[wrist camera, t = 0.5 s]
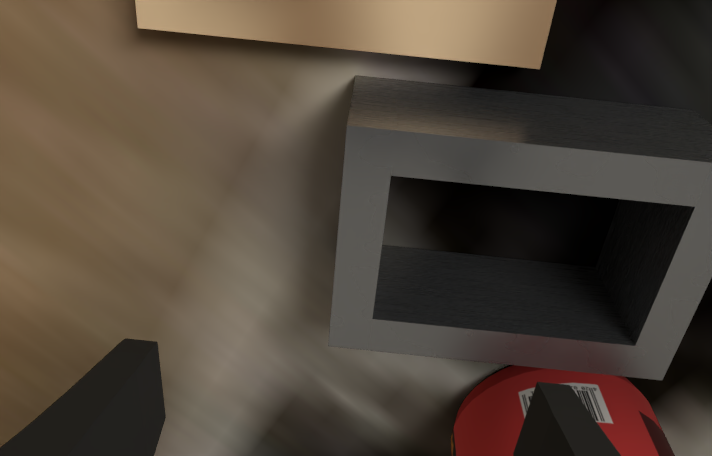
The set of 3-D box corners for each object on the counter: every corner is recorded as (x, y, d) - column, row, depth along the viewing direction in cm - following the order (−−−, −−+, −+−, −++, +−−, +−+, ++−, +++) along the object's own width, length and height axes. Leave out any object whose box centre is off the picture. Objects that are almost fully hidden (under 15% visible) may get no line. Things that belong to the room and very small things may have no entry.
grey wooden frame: (693, 109, 18) (764, 168, 14) (619, 297, 22) (662, 380, 18) (356, 75, 18) (346, 125, 14) (338, 269, 22) (328, 346, 18)
